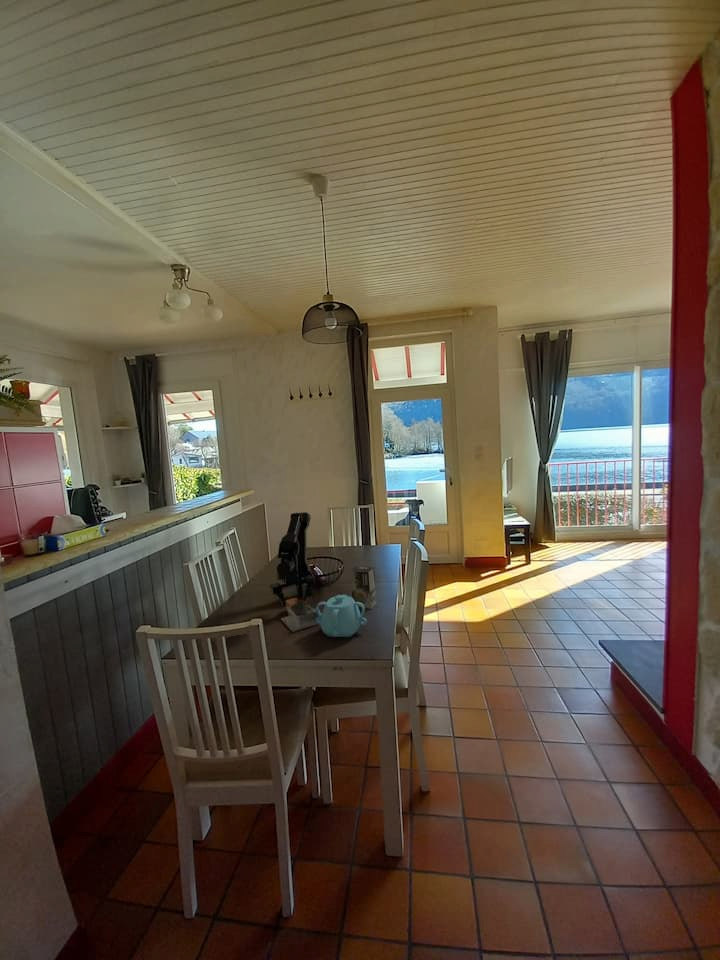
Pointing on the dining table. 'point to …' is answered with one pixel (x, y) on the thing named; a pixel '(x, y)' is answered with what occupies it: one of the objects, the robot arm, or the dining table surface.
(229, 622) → the dining table surface
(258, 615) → the dining table surface
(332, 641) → the dining table surface
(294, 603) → the lock block
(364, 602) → the coffee box
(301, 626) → the channel
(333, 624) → the decorative pot
